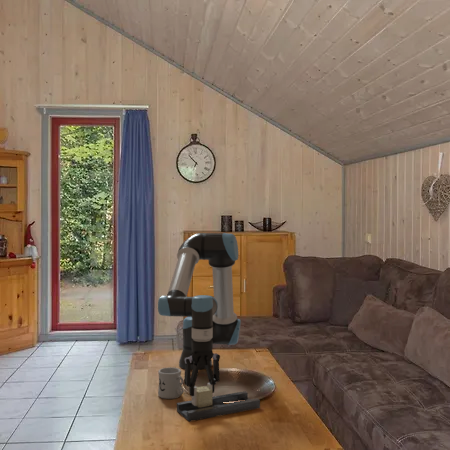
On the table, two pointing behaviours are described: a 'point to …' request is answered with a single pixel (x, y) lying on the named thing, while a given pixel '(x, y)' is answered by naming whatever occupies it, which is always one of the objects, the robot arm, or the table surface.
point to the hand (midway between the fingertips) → (201, 402)
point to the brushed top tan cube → (204, 396)
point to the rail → (218, 406)
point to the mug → (170, 383)
